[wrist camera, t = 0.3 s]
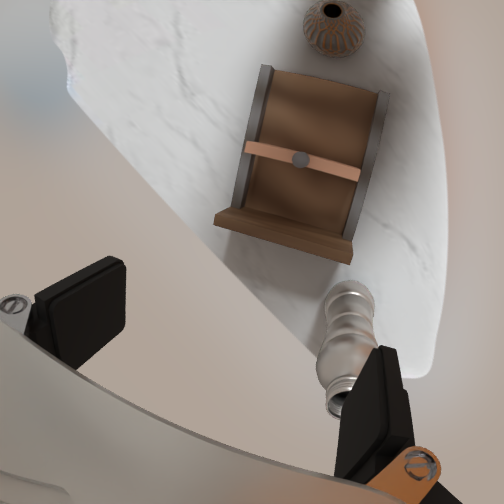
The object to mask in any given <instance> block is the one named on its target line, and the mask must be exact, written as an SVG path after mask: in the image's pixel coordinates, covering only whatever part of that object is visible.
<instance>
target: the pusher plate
mask: <svg viewBox="0 0 504 504" xmlns="http://www.w3.org/2000/svg"><path fill="white" fill-rule="evenodd" d="M244 152H246V153H251V154H255V155H260V156H264V157H268V158H272V159H277V160H281V161H285V162H289V163H293V165H294V166H295V167H297V168H304V167H308V168H312V169H315V170H319V171H323V172H326V173H330V174H333V175H337V176H340V177H344V178H347V179H350V180H354V181H357V182H358V179H359V175H360V172H361V170H360V169H359V168H357V167H353V166H350V165H347V164H343V163H340V162H336V161H333V160H329V159H326V158H322V157H318V156H314V155H311V154H307V153H305V152H299V151H295V150H291V149H287V148H282V147H278V146H274V145H269V144H265V143H259V142H252V141H247V142H246V146H245V151H244Z"/></svg>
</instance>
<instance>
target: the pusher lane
mask: <svg viewBox="0 0 504 504" xmlns="http://www.w3.org/2000/svg"><path fill="white" fill-rule="evenodd" d="M389 96H390V93H386V92H383V91H379V93H378V94H377V93H374V92H370V91H367V90H364V89H360V88H356V87H353V86H349V85H345V84H341V83H337V82H333V81H329V80H324V79H320V78H315V77H311V76H306V75H301V74H296V73H290V72H285V71H279V70H275V69H274V68H273V67H272V66H270V65H263V64H261V68H260V73H259V77H258V81H257V86H256V90H255V94H254V99H253V103H252V108H251V112H250V117H249V121H248V126H247V130H246V135H245V140H244V144H243V149H242V154H241V159H240V163H239V168H238V173H237V178H236V183H235V188H234V192H233V197H232V202H231V207H229V208H227V209H225V210H223V211H221V212H219V213H217V214H215V218H214V224H213V225H215V226H219V227H222V228H226V229H229V230H233V231H236V232H240V233H243V234H246V235H250V236H253V237H257V238H260V239H264V240H267V241H270V242H274V243H277V244H281V245H284V246H287V247H291V248H294V249H297V250H301V251H304V252H307V253H311V254H314V255H317V256H321V257H324V258H327V259H331V260H334V261H337V262H341V263H344V264H347V265H350V263H351V260H352V257H353V248H352V239H353V236H354V233H355V230H356V226H357V223H358V220H359V216H360V213H361V210H362V206H363V203H364V199H365V196H366V192H367V188H368V185H369V181H370V177H371V174H372V170H373V166H374V162H375V158H376V154H377V150H378V146H379V142H380V137H381V133H382V129H383V124H384V120H385V115H386V111H387V106H388V101H389ZM247 141H252V142H259V143H265V144H269V145H274V146H278V147H282V148H287V149H291V150H295V151H299V152H305V153H307V154H311V155H314V156H318V157H322V158H326V159H329V160H333V161H336V162H340V163H343V164H347V165H350V166H353V167H357V168H359V169H360V170H361V172H360V175H359V179H358V182H357V181H354V180H350V179H347V178H344V177H340V176H337V175H333V174H330V173H326V172H323V171H319V170H315V169H312V168H308V167H304V168H297V167H295V166H294V165H293V163H289V162H285V161H281V160H277V159H272V158H268V157H264V156H260V155H255V154H251V153H246V152H244V151H245V146H246V142H247Z"/></svg>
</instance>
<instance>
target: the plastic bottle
mask: <svg viewBox="0 0 504 504" xmlns="http://www.w3.org/2000/svg"><path fill="white" fill-rule="evenodd" d="M324 309H325V316H326V321H327V330H326V335H325V339H324V342H323V344H322V347H321V349H320V352H319V355H318V358H317V362H316V372H317V375H318V379H319V382H320V383H321V385H322V386H323V388H324V389H325V390H326V410H327V412H328V413H329V414H330V415H331V416H332V417H334V418H335V419H338V420H340V419H341V409H342V406H343V403H344V401H345V399H346V397H347V396H348V394H349V392H350V390H351V388H352V387H353V385H354V383H355V381H356V379H357V378H358V376H359V374H360V372H361V370H362V368H363V366H364V364H365V362H366V360H367V359H368V357H369V355H370V353H371V351H372V349H373V348H377V349H378V345H377V342H376V339H375V336H374V331H373V317H374V309H375V303H374V299H373V296H372V295H371V293H370V291H369V290H368V288H367V287H366V286H365V285H363V284H362V283H360V282H358V281H353V280H348V281H343V282H340V283H338V284H337V285H335V286H334V287H333V288H332V289H331V291H330V292H329V294H328V296H327V298H326V300H325V307H324Z"/></svg>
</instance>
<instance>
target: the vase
mask: <svg viewBox="0 0 504 504" xmlns="http://www.w3.org/2000/svg"><path fill="white" fill-rule="evenodd" d="M303 28H304V33H305V36H306V38H307V40H308V42H309V43H310V45H311V46H312V47H313V48H314V49H315V50H317V51H318V52H320V53H321V54H324V55H326V56H330V57H345V56H348V55H350V54H352V53H354V52H355V51H356V50H357V49H358V48H359V47H360V46H361V44H362V42H363V40H364V35H365V27H364V23H363V20H362V18H361V16H360V15H359V14H358V12H357V11H356V10H355V9H354V8H353V7H351V6H350V5H348V4H346V3H344V2H341V1H337V0H325V1H321V2H319V3H317V4H315V5H313V6H312V7H311V8H310V9H309V10H308V12H307V14H306V16H305V18H304V24H303Z"/></svg>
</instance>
